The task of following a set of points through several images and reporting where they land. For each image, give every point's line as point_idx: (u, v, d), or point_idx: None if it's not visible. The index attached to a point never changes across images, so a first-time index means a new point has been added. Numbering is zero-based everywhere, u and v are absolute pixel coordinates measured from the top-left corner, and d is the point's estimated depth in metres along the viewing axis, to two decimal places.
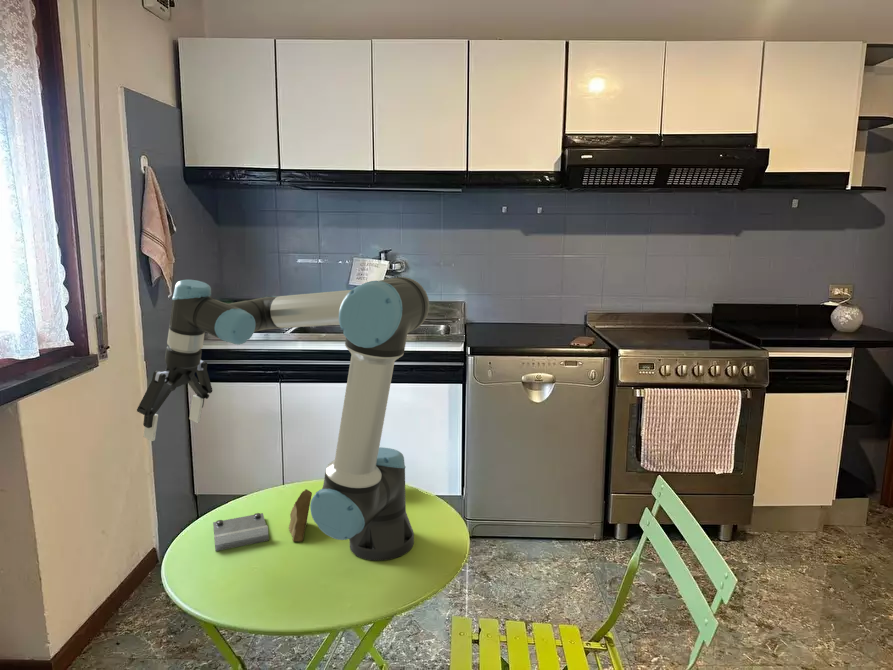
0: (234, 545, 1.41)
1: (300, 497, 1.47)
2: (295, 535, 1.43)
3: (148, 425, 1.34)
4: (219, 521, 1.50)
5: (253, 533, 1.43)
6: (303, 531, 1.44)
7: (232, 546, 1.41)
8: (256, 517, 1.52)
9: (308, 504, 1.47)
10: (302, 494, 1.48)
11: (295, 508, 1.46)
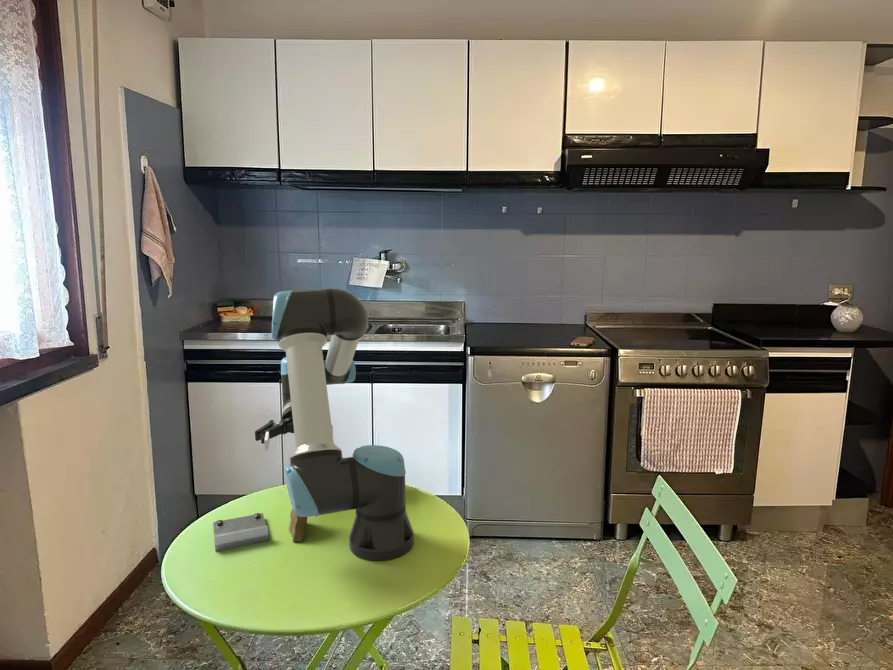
0: (234, 545, 1.41)
1: None
2: (295, 535, 1.43)
3: (261, 437, 1.56)
4: (219, 521, 1.50)
5: (253, 533, 1.43)
6: (303, 531, 1.44)
7: (232, 546, 1.41)
8: (256, 517, 1.52)
9: None
10: None
11: None
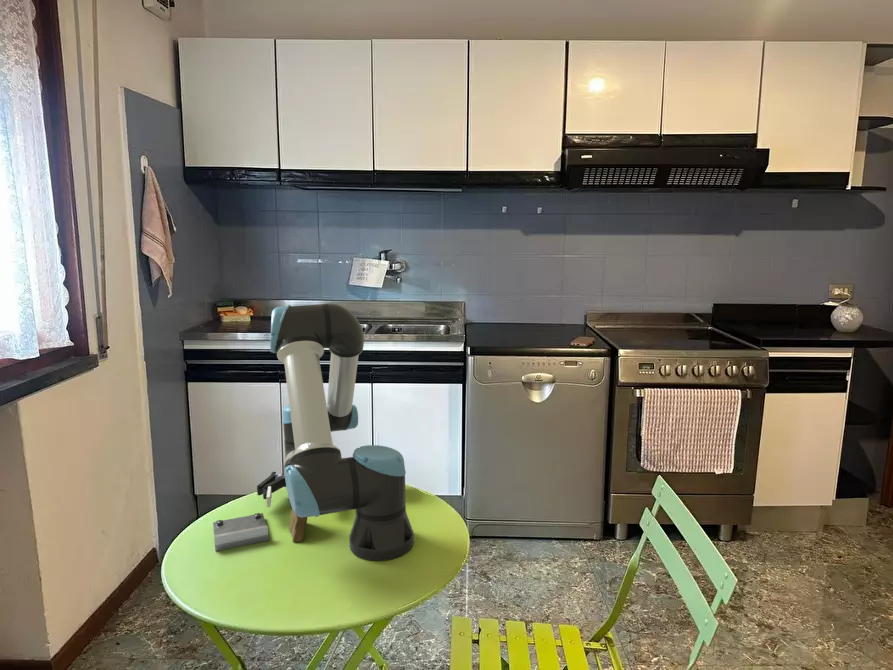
0: (234, 545, 1.41)
1: None
2: (295, 535, 1.43)
3: (263, 493, 1.55)
4: (219, 521, 1.50)
5: (253, 533, 1.43)
6: (303, 531, 1.44)
7: (232, 546, 1.41)
8: (256, 517, 1.52)
9: None
10: None
11: None
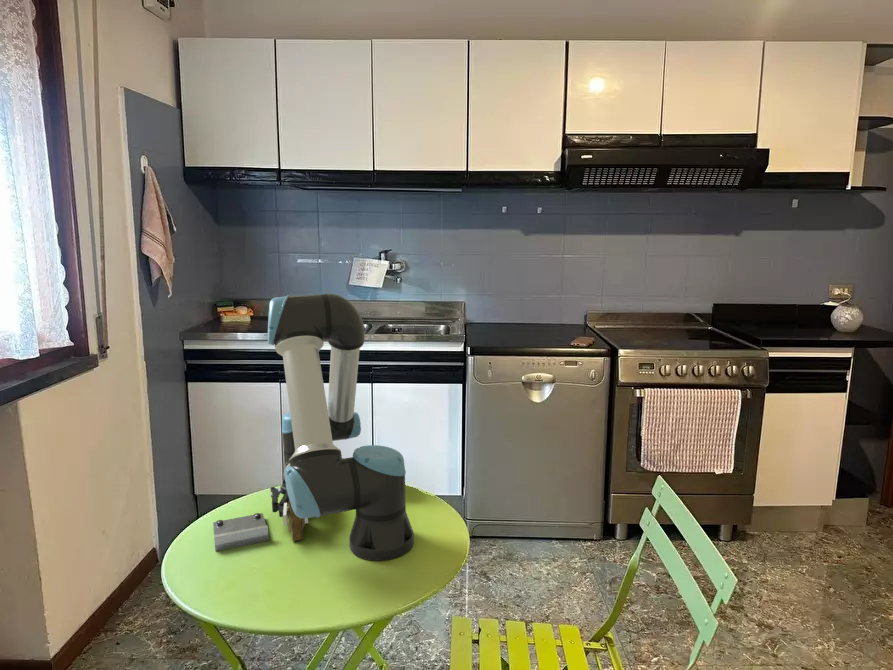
0: (234, 545, 1.41)
1: None
2: (293, 534, 1.43)
3: (279, 510, 1.45)
4: (219, 521, 1.50)
5: (253, 533, 1.43)
6: (301, 529, 1.43)
7: (232, 546, 1.41)
8: (256, 517, 1.52)
9: None
10: None
11: (289, 508, 1.45)
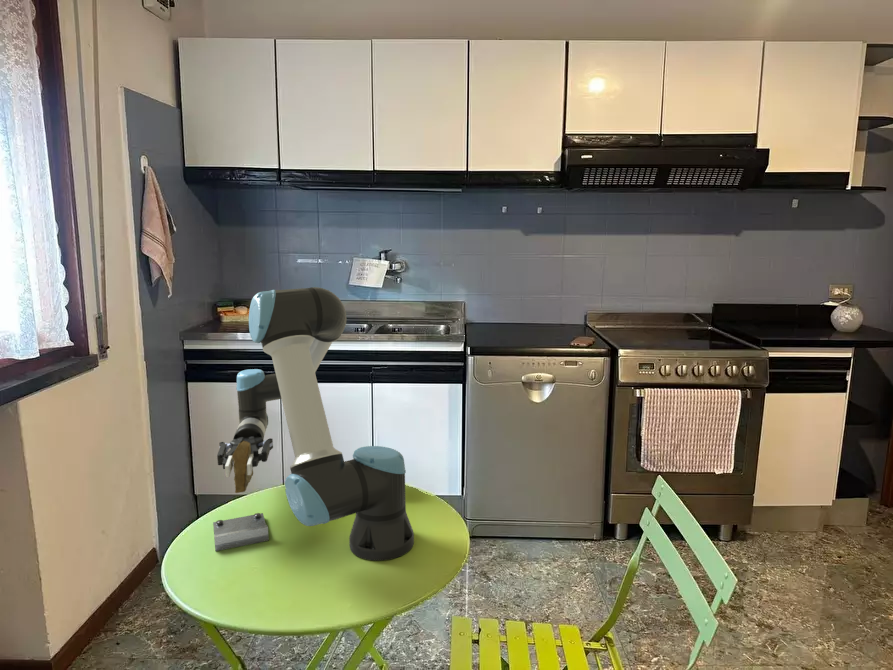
0: (234, 545, 1.41)
1: (237, 449, 1.45)
2: (236, 486, 1.41)
3: (223, 462, 1.43)
4: (219, 521, 1.50)
5: (253, 533, 1.43)
6: (244, 481, 1.42)
7: (232, 546, 1.41)
8: (256, 517, 1.52)
9: (246, 454, 1.45)
10: (239, 446, 1.45)
11: (233, 460, 1.44)
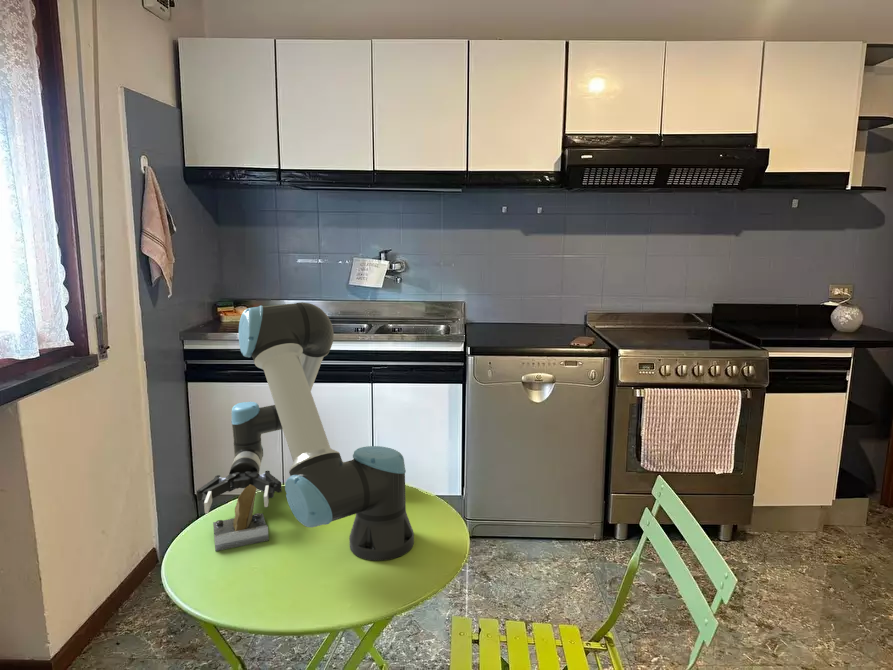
0: (234, 545, 1.41)
1: (243, 492, 1.47)
2: (237, 530, 1.43)
3: (202, 498, 1.45)
4: (219, 521, 1.50)
5: (253, 533, 1.43)
6: (245, 526, 1.43)
7: (232, 546, 1.41)
8: (256, 517, 1.52)
9: (251, 499, 1.47)
10: (246, 489, 1.47)
11: (238, 503, 1.46)
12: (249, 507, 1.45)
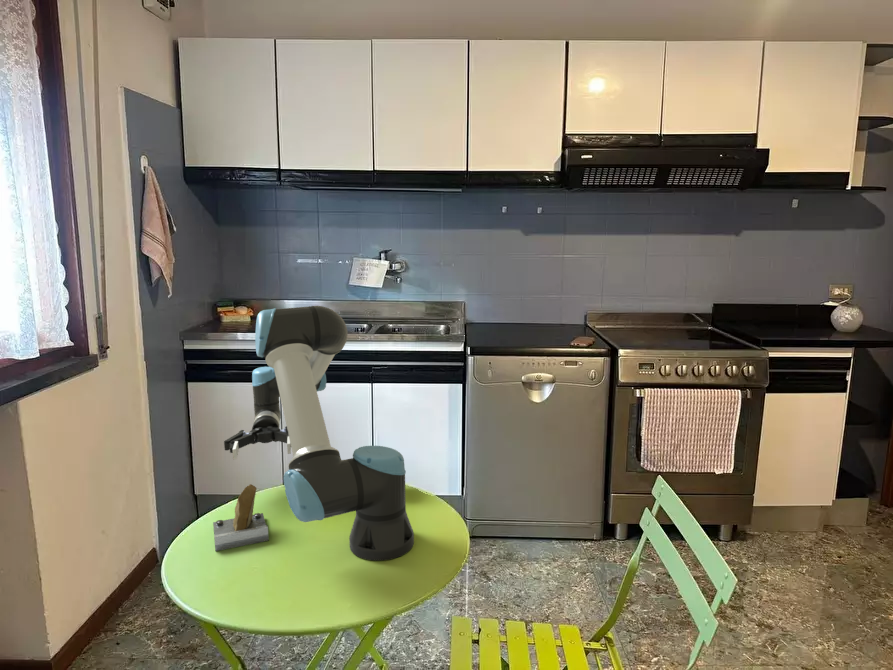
0: (234, 545, 1.41)
1: (243, 492, 1.47)
2: (237, 530, 1.43)
3: (230, 447, 1.58)
4: (219, 521, 1.50)
5: (253, 533, 1.43)
6: (245, 526, 1.43)
7: (232, 546, 1.41)
8: (256, 517, 1.52)
9: (251, 499, 1.47)
10: (246, 489, 1.47)
11: (238, 503, 1.46)
12: (249, 507, 1.45)
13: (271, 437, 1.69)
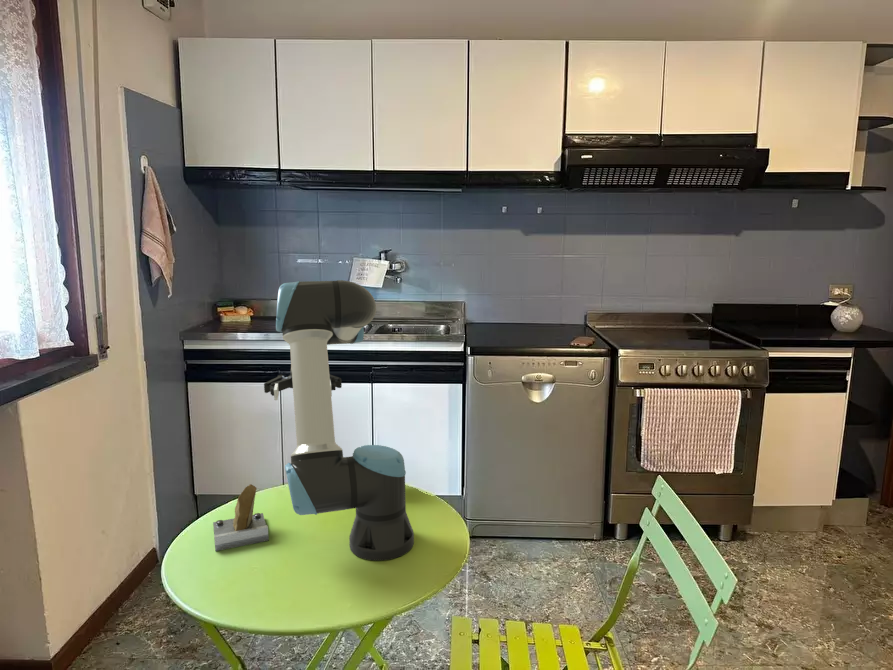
0: (234, 545, 1.41)
1: (243, 492, 1.47)
2: (237, 530, 1.43)
3: (271, 388, 1.56)
4: (219, 521, 1.50)
5: (253, 533, 1.43)
6: (245, 526, 1.43)
7: (232, 546, 1.41)
8: (256, 517, 1.52)
9: (251, 499, 1.47)
10: (246, 489, 1.47)
11: (238, 503, 1.46)
12: (249, 507, 1.45)
13: None
